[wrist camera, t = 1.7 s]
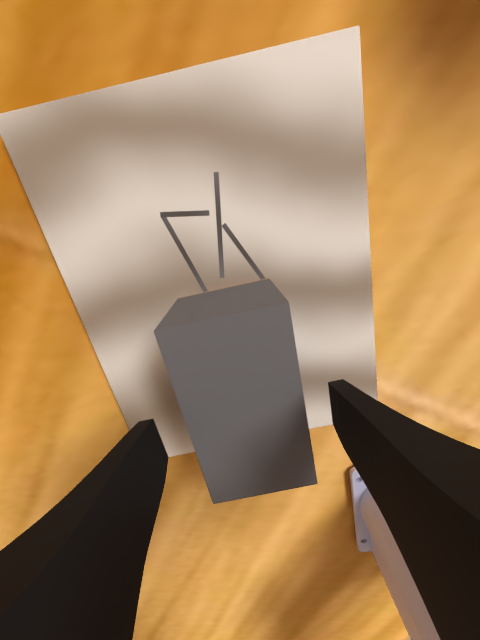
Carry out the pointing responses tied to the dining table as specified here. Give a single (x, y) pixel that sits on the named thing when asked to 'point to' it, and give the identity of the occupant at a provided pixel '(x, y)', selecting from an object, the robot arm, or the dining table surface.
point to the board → (211, 210)
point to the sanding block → (239, 389)
